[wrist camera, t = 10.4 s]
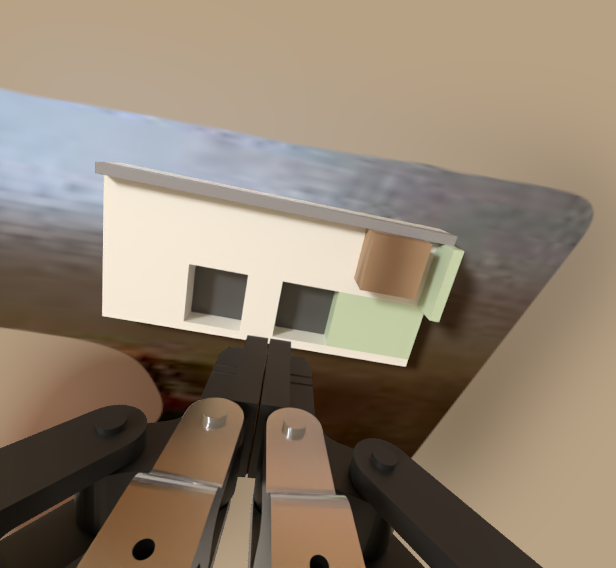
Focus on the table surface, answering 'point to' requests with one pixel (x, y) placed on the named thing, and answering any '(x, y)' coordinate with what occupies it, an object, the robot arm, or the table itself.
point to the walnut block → (391, 264)
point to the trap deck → (258, 266)
